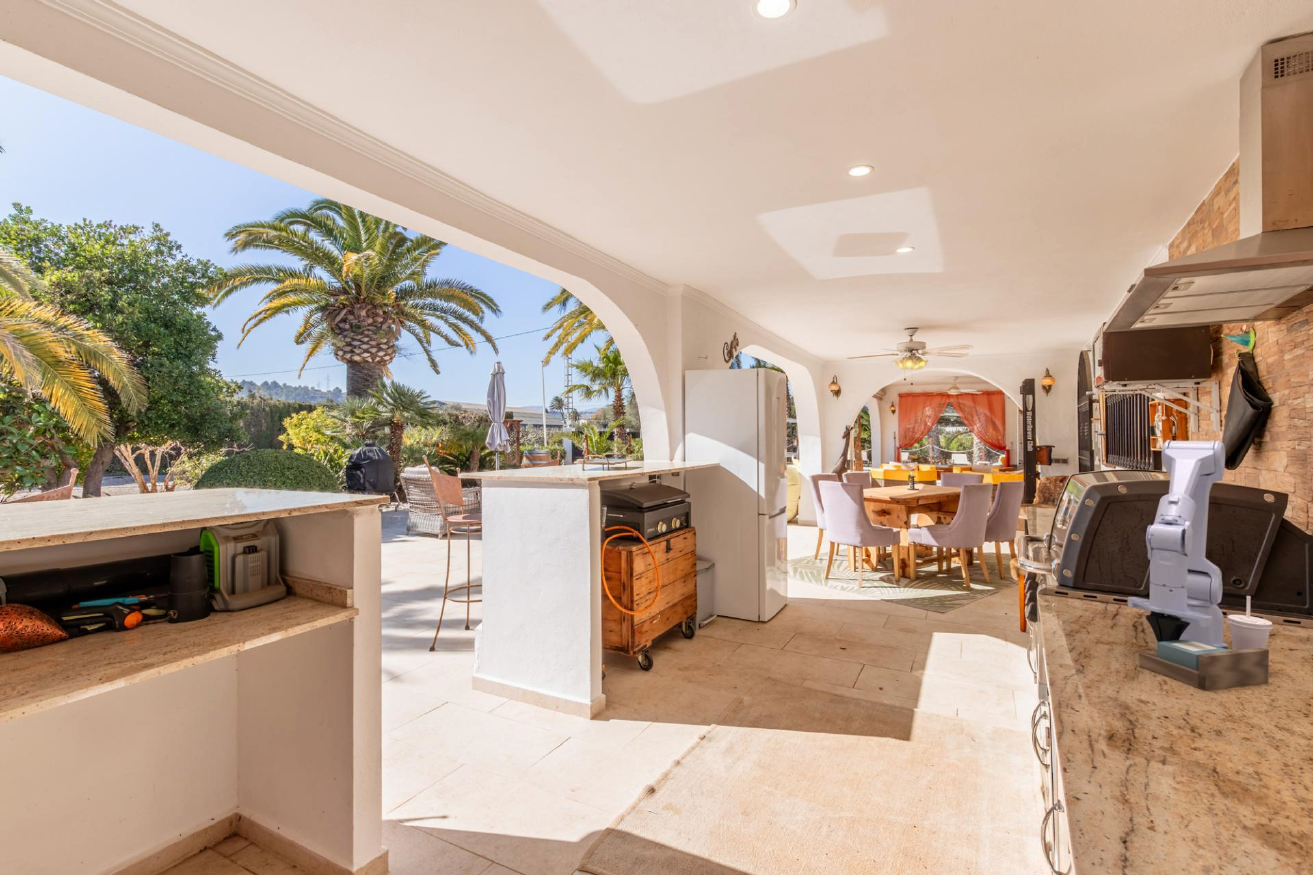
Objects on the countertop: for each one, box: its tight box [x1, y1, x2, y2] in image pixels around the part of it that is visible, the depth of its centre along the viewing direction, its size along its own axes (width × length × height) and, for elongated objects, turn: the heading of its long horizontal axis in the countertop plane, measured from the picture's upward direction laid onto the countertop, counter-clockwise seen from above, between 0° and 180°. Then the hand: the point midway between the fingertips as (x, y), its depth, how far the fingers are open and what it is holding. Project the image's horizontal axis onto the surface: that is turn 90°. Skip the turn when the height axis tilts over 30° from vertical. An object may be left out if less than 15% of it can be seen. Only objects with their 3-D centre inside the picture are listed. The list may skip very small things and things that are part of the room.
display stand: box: [1138, 648, 1270, 691], centre depth 116 cm, size 15×12×6 cm
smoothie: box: [1226, 595, 1274, 651], centre depth 119 cm, size 6×6×14 cm
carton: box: [1156, 639, 1231, 672], centre depth 117 cm, size 9×7×5 cm
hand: (1167, 652), depth 122 cm, fingers closed
